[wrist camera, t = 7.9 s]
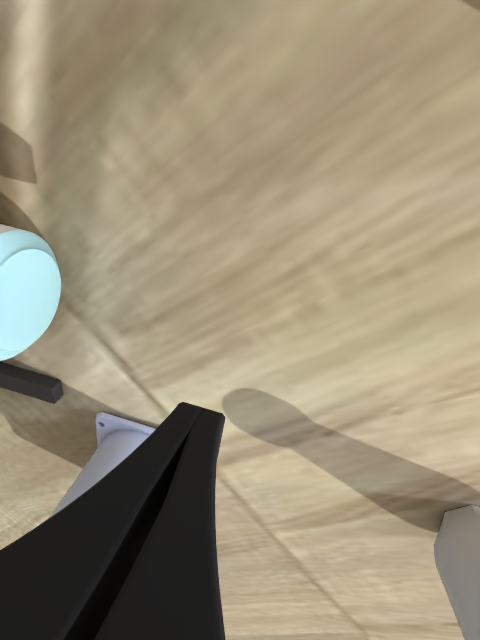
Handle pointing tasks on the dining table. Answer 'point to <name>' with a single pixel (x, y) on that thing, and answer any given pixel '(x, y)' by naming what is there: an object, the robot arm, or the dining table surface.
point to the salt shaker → (461, 566)
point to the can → (25, 289)
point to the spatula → (30, 383)
